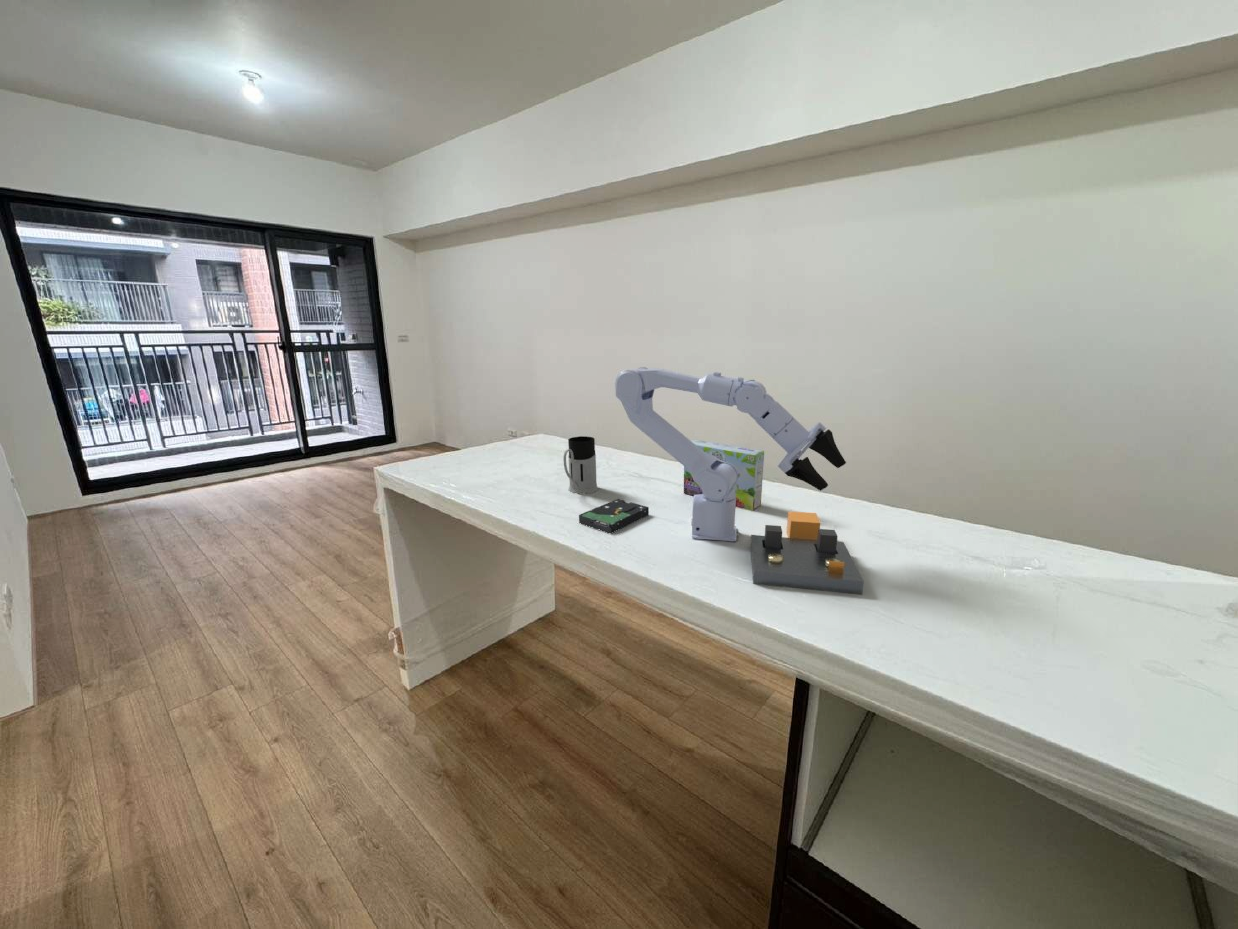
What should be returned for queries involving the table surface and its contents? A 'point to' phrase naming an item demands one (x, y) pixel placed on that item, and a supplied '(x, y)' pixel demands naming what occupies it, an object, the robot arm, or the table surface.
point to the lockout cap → (802, 525)
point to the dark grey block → (826, 541)
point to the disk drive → (613, 515)
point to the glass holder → (581, 464)
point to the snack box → (746, 465)
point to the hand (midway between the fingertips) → (833, 476)
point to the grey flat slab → (804, 566)
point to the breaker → (773, 537)
